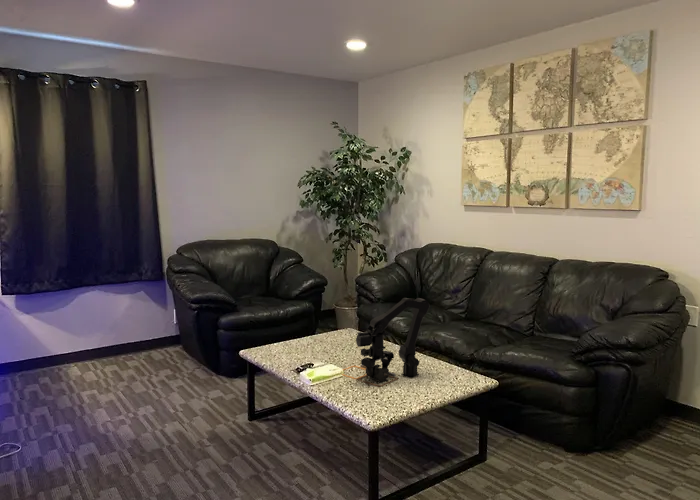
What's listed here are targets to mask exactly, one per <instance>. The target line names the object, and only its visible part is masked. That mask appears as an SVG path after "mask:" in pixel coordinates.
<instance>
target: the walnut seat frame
mask: <svg viewBox="0 0 700 500" xmlns="http://www.w3.org/2000/svg"><path fill="white" fill-rule="evenodd" d="M384 376H386V374H384ZM368 377H369V376H367V375H366V376H364V377H361V378H359V379H357V380H356V381H359V382H361V383H364V384H367V385H371V386H375V387H377V388H381V387H383V386H384V387H385V386H386V385H388V384H391V383H392V382H395V381H398V380H400V379H399V377H396V376H395V377H393V376H390V375H389V378H392V380H388V381H387V382H383V384H380V385H379V384H376V383H373V382H370V381H367V380H364V379H365V378H368Z"/></svg>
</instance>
